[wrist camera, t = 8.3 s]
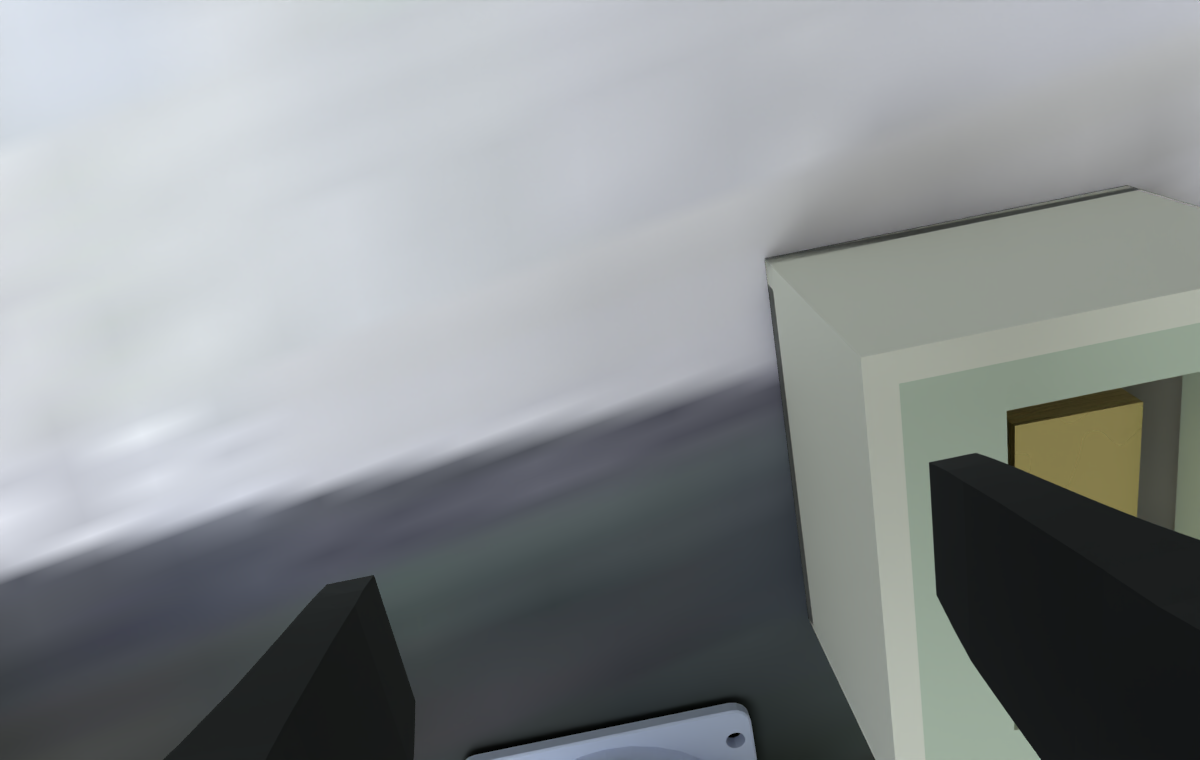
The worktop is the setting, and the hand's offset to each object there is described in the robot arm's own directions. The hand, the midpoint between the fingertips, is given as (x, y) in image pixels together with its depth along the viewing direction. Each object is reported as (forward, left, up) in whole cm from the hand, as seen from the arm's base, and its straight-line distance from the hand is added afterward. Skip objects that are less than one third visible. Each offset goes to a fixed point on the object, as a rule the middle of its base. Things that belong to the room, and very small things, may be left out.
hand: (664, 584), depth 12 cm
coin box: (-4, -8, -10) cm, 14 cm away
